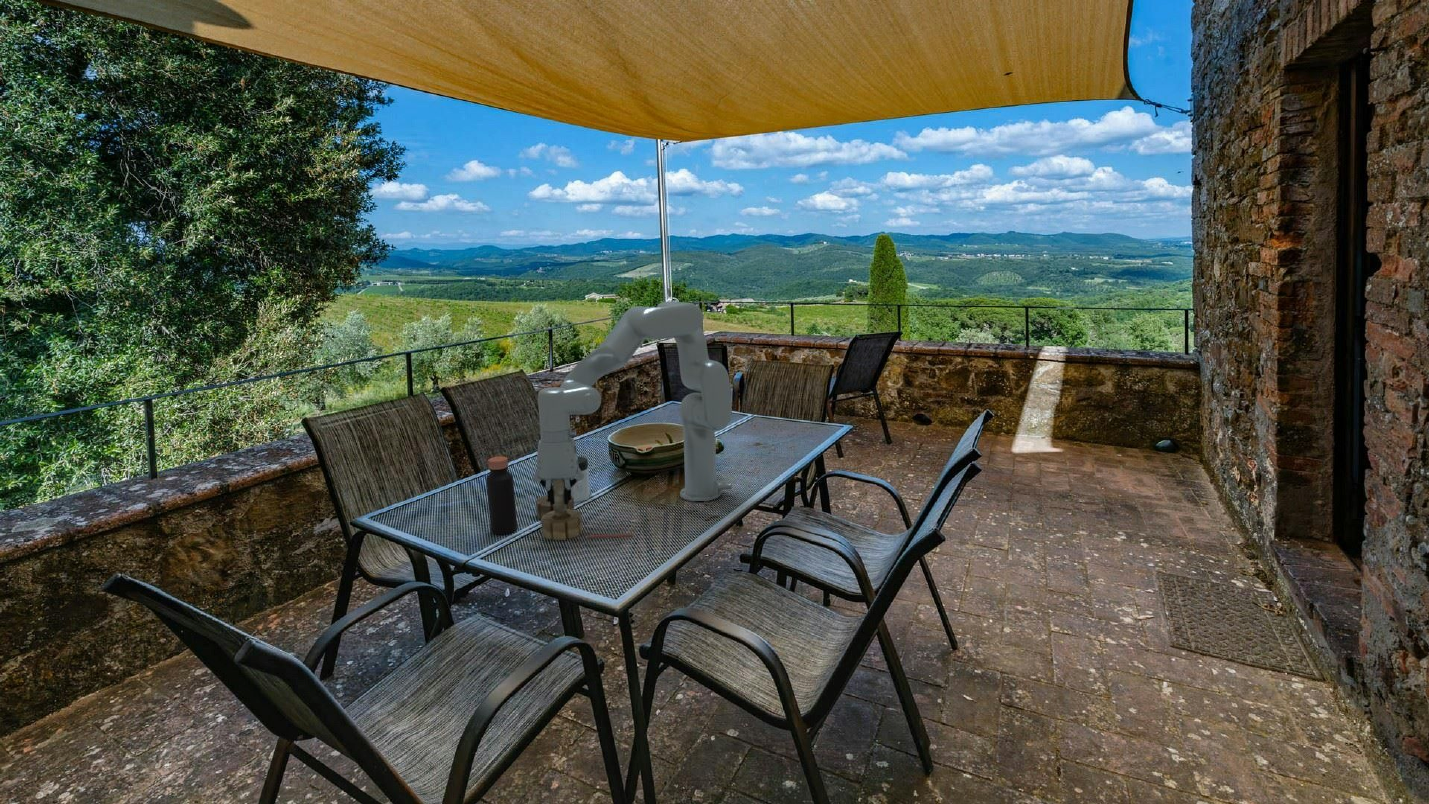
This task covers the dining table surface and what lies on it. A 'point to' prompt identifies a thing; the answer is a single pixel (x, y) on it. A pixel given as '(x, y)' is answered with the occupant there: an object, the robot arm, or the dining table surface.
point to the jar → (581, 482)
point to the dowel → (559, 497)
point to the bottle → (501, 497)
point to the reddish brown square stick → (610, 535)
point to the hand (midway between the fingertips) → (560, 502)
